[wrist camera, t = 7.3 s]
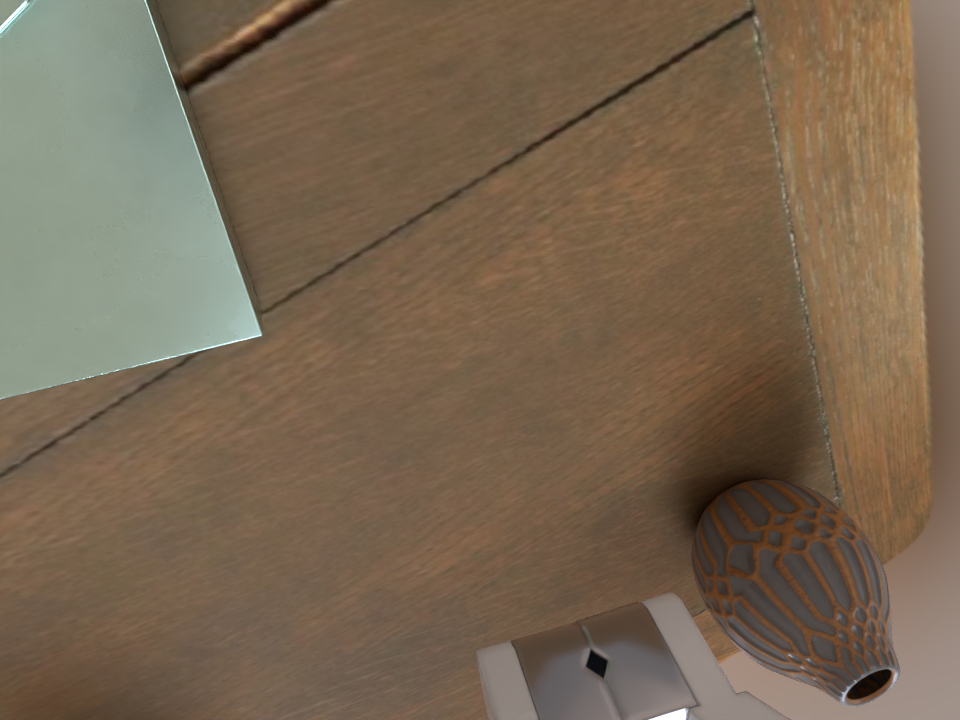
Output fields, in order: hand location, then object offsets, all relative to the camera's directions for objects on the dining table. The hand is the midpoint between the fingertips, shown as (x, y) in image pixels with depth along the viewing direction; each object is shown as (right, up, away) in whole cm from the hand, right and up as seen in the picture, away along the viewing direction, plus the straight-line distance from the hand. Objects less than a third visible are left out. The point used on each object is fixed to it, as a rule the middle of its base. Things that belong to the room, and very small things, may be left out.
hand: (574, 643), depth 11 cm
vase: (+10, -3, +23) cm, 25 cm away
